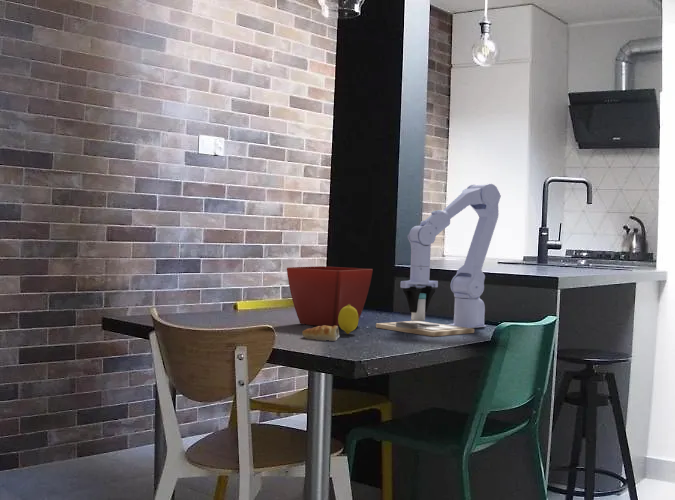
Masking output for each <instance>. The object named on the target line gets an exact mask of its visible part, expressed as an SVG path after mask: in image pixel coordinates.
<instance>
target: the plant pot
mask: <svg viewBox="0 0 675 500" xmlns="http://www.w3.org/2000/svg"><path fill="white" fill-rule="evenodd" d="M286 274H287V280H288V286H289V291H290V295H291V300H292V304H293V307H294V310H295V313H296V316H297V318H298V322H299V324H300V325H305V324H306V325H309V326H315V327H317V326H323V325H326V326H332V327H333V326H334V325H335V326H338V328H340V326H339V323H338V316H339V313H340V311H341V309H342V308H343V307H345V306H347V305H351V306H352V307H354V308H355V309H356V310H357V312H358V317H359V319H360V318H361V315H362V312H363V310H364V307H365V304H366V301H367V297H368V294H369V290H370V287H371V282H372V276H373V268H360V267H359V268H358V267H342V266H341V267H340V266H323V265H321V266H318V265H317V266H291V267H286Z"/></svg>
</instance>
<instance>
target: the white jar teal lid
mask: <svg viewBox="0 0 675 500" xmlns="http://www.w3.org/2000/svg"><path fill="white" fill-rule="evenodd" d="M425 302H426V293H420V295H419V299H418V307H417V312H416V313H413V312H410V313H411V314H410V315H411V316H410V317H411V318H410V321H423V322H426V321H425V320H426V312H425Z"/></svg>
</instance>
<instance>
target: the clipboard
mask: <svg viewBox="0 0 675 500" xmlns="http://www.w3.org/2000/svg"><path fill="white" fill-rule="evenodd" d="M375 328H376V329H383V330H389V331H390V330H391V331H394V332H401V333H402V332H403V333H408V334H416V335H421V336H426V337H427V336H428V337H441V336H442V337H445V336H455V335H464V334H465V335H466V334H474V333H475V328H466V327H459V326H451V325H448V324H443V323H435V322H428V321H413V320H409V321H408V320H407V321H394V322H392V321H391V322H379V323H378V322H377V323H375Z"/></svg>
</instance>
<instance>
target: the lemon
mask: <svg viewBox="0 0 675 500" xmlns="http://www.w3.org/2000/svg"><path fill="white" fill-rule="evenodd" d="M359 320H360V318H359V317H358V312H357V310H356V309H355V308H354V307H352V306H351V305H347V306H345V307H343V308H342V309H341V311H340V313H339V316H338V323H339V326H340V327H339V328H340V329H341V330H342V331H344V333H346V334H347V335H349V334H351V332H353V331H355V330H357V329H356V328H357V327H358V325H359Z"/></svg>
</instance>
